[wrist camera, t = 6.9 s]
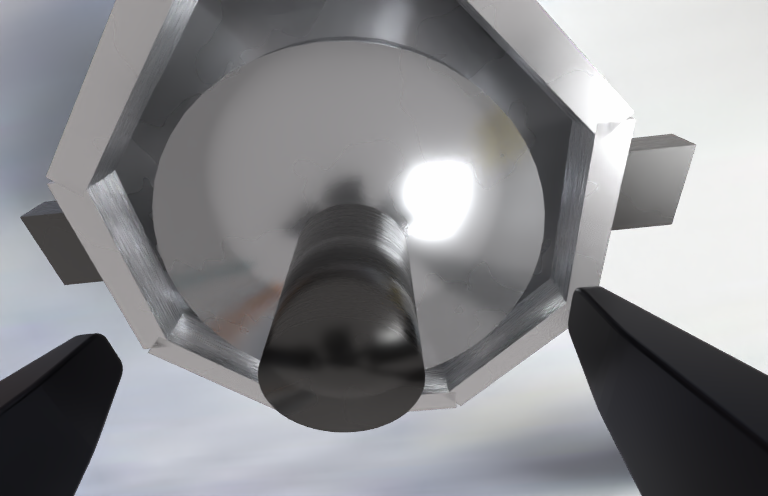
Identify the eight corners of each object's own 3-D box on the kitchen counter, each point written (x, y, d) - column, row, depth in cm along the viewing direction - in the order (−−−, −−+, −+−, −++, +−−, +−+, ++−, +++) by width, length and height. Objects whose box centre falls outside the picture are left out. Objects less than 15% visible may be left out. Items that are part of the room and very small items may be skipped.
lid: (515, 339, 14) (583, 504, 9) (235, 364, 14) (171, 535, 9) (548, 11, 8) (737, 26, 4) (106, 62, 9) (-161, 125, 4)
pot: (578, 278, 18) (660, 390, 13) (184, 316, 19) (112, 436, 14) (645, -83, 12) (869, -151, 6) (29, -3, 12) (-226, -4, 7)
